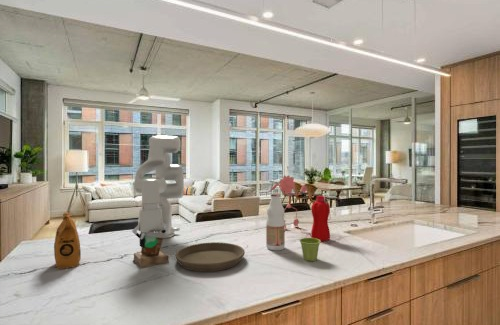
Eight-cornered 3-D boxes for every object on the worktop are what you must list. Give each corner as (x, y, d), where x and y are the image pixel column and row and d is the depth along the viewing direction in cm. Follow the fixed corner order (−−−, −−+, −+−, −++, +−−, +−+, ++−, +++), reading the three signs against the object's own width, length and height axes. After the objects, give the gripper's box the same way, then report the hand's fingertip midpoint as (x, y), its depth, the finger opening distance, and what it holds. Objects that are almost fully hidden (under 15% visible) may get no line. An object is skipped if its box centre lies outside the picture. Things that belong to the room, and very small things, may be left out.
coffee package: (52, 271, 119) (51, 217, 119) (55, 261, 130) (54, 212, 130) (80, 266, 124) (80, 215, 124) (80, 258, 135) (80, 210, 134)
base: (160, 254, 139) (160, 248, 139) (168, 262, 130) (168, 255, 130) (133, 259, 132) (133, 252, 132) (141, 267, 123) (141, 260, 123)
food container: (132, 250, 131) (137, 228, 132) (144, 250, 135) (149, 229, 137) (148, 256, 123) (153, 232, 125) (160, 256, 128) (164, 233, 129)
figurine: (310, 227, 193) (309, 175, 194) (275, 231, 183) (274, 176, 184) (297, 223, 207) (296, 174, 208) (265, 227, 197) (264, 175, 198)
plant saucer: (170, 255, 140) (170, 245, 140) (231, 247, 152) (231, 238, 152) (182, 280, 111) (182, 268, 111) (255, 267, 123) (255, 257, 123)
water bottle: (325, 243, 158) (325, 197, 157) (308, 239, 166) (309, 195, 166) (334, 240, 164) (335, 196, 163) (318, 236, 172) (318, 194, 172)
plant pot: (308, 264, 127) (308, 244, 127) (295, 257, 135) (295, 239, 135) (324, 260, 131) (325, 241, 131) (311, 254, 140) (311, 236, 140)
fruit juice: (267, 251, 145) (267, 195, 145) (265, 245, 155) (265, 192, 154) (285, 250, 146) (286, 194, 145) (283, 245, 155) (283, 192, 155)
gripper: (166, 203, 139) (166, 241, 139) (128, 207, 129) (128, 247, 129) (172, 205, 133) (172, 244, 133) (132, 209, 123) (132, 251, 123)
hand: (150, 245), depth 131 cm, fingers open, 6 cm apart
